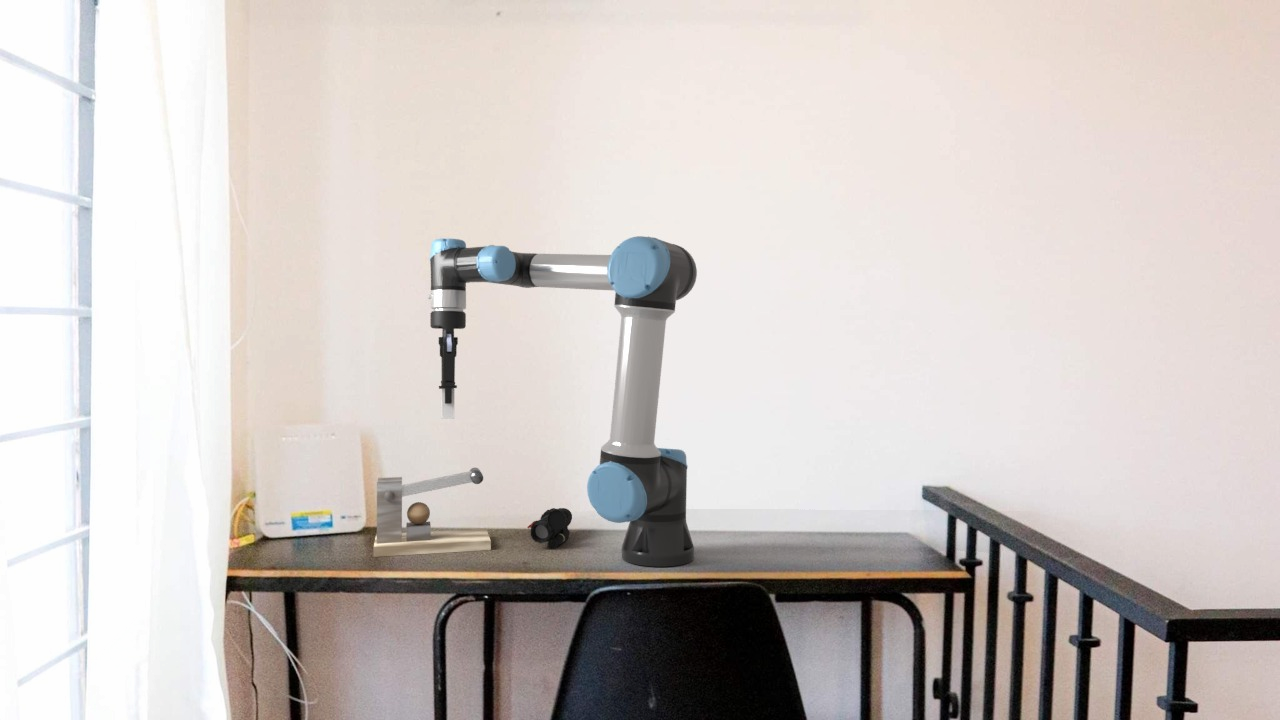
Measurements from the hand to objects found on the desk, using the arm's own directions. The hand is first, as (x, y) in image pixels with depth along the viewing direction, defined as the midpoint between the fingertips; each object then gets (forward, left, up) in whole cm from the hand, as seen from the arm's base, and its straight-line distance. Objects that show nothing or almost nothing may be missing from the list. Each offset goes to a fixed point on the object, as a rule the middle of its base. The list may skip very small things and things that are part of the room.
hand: (447, 418), depth 176 cm
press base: (0, +3, -28) cm, 28 cm away
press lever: (0, +3, -16) cm, 16 cm away
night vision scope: (-1, -23, -28) cm, 36 cm away
